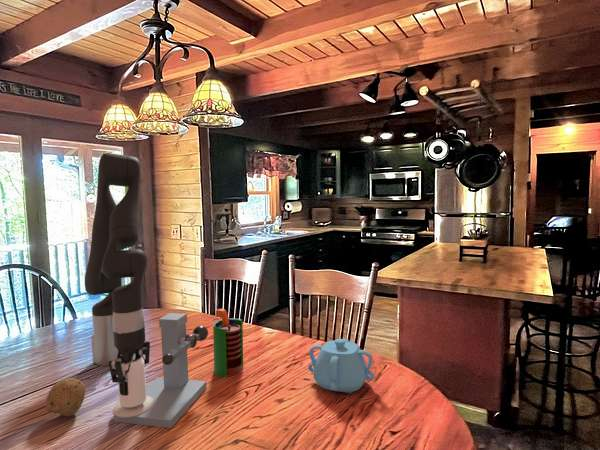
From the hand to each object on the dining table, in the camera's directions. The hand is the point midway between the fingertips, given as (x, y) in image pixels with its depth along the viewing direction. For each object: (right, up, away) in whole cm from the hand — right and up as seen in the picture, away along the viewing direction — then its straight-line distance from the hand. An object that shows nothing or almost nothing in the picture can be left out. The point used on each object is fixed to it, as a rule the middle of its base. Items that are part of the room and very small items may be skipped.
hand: (132, 388), depth 102 cm
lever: (+12, +8, +6) cm, 16 cm away
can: (0, -4, 0) cm, 4 cm away
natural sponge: (-17, -8, 0) cm, 19 cm away
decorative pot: (+56, -5, +14) cm, 58 cm away
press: (+5, -6, +5) cm, 10 cm away
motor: (+21, -5, +25) cm, 33 cm away
